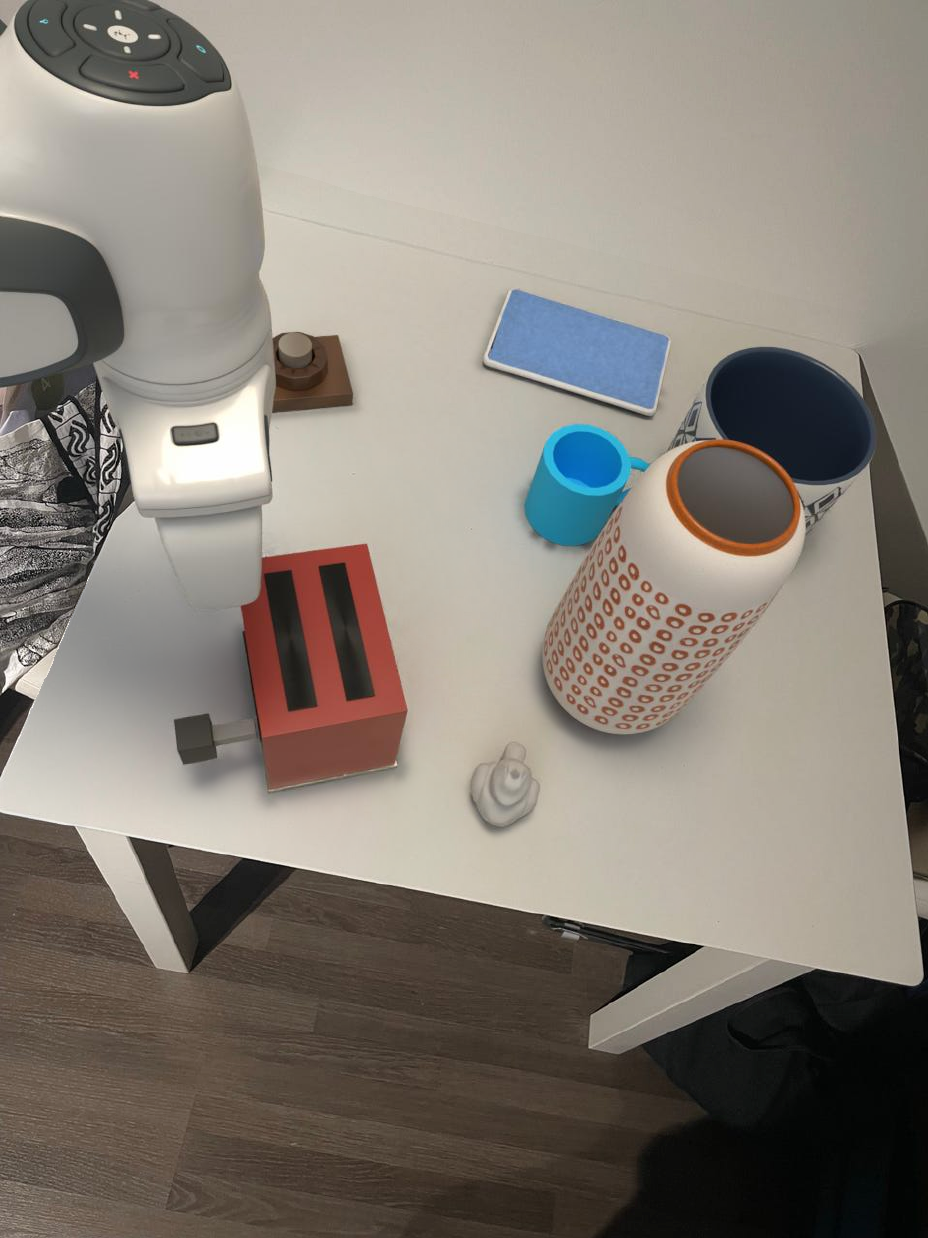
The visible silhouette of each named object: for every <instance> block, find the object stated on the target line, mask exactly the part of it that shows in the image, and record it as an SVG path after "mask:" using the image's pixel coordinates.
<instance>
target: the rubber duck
mask: <svg viewBox="0 0 928 1238" xmlns="http://www.w3.org/2000/svg"><path fill="white" fill-rule="evenodd" d="M526 755H527V749H526V747H525V745H524V744H522V743H521V742H518V741H510V742H508V743H507V744H506V745H505V747H504V750H503V753H502V755H501V756H500V759H499V761H491V762H484V763H479V764H477V766H476V767H475V768H474V770H473V774H472V778H471V782H470V792H471V796H472V799H473V801H474V802H475V804H476V808H477V810H478V812H479V814H480V816H481V817H482V818H483V820H484V821H485V822H487V823H489V824H490V825H494V826H497V827H507V826H509V825H510V824H512V823H514V822H515V821H517V820H519V819H520V818H522V817H524V816H527V815H528V814H529V813H530V812H531V811H532V810H533V809H534V807H535V806H536V804H537V803H538V799H539V795H540V791H541V783H540V782H539V781H538V779H536V778H535V777H533V773H532V772H533V771H532V769H531V768H530V767H529V766H528V765H527V764H526V763H525V759H526Z"/></svg>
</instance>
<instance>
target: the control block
mask: <svg viewBox="0 0 928 1238" xmlns="http://www.w3.org/2000/svg"><path fill="white" fill-rule="evenodd" d="M288 333H301V334H303V335H305V336H307V337H308V338H309V339H310V341H311V343H312V361H311V363H310V364H309V365H308V366H307V367H305V368H303V369H291V368H288V367H286V366H284V365H283V364H282V363H281V361H280V359H279V345H278V344H279V340H280V339H281V337H282V336H284V335H286V334H288ZM272 338H273V349H274V362H275V376H276V388H275V394H274V399H273V410H272V413H280V412H283V413H284V412H292V411H302V410H303V411H304V410H312V409H313V410H314V409H323V408H334V407H345V406H353V404H354V403H353V402H354V401H353V399H354V392H353V387H352V384H351V381H350V376H349V372H348V369H347V365H346V361H345V357H344V353H343V349H342V345H341V341H340V338H339V335H338V334H333V335H318V336H314V335H311V334H307V333H305V332H302V331H288V332H281V333H279V334H277V335H276V336H273V337H272Z"/></svg>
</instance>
